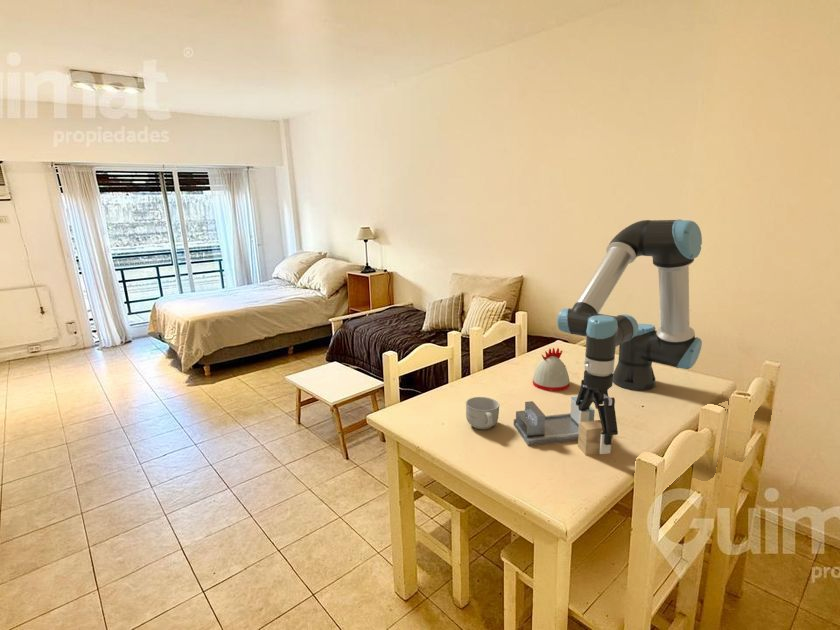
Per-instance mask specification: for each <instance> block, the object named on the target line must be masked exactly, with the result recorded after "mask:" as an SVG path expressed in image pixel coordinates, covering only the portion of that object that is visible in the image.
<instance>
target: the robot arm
mask: <svg viewBox="0 0 840 630" xmlns="http://www.w3.org/2000/svg"><path fill="white" fill-rule="evenodd" d="M702 245H703V237H702V231H701V228H700V226H699V224H697V223H696V222H695V221H693V220H683V219H663V220H662V219H657V220H656V219H654V220H650V219H645V220H639V221H636V222H634V223H631V224H630V225H628V226H626V227H624V228H623V229H622V230H621V231H620V232H618V233H617V234H616V235H615V236H614V237H613V238H612V239H611V241H610V242H609V243H608V245H607V247H606V249H605V250H606V254H605V256H604V257H603V258H602V261H601V262H600V264H599V265H598V267H597V269H596V270H595V271H594V273H593V275H592V276H591V278H590V279H589V281H588V283H587V284H586V286H585V287H584V289H583V290H582V292H581V294H580V295H579V297H578V298H577V300H576V301H575V303H574V305H573V306H572V307H571V308H566V307H565V308H563V309H561V310H560V311H559V313H558V315H557V317H556V325H557V327H558V330H560V332H564V333H567V334H569V335H576V336H580V337H585V339H586V340H585V356H584V358H585V360H584V362H583V364H584V371H583V379H581V382H580V388H579V391H578V395H577V396H578V397H577V396H576V397H577V400H576V405H577V406H579V407H578V408H579V410H580V414H579V422H585V421H589V411H588V409H589V407H591V405H592V404H594V406H595V409H597V412H598V417H599V420H600V421H601V425H602V429H603V432H601V439H600V451H599V454H600V455H606V454H607V455H608V454H611V452H610V448H611V441H612V435H613V436H617V435H618V434H619V431H618V424H617V416H616V408H615V407H616V406H615V403H616V400H615V397H614V396H613V397H612V396H611V397H610V396H609V389H611V388H612V387H613V384H614V385H615V386H617V387H621V388H624V389H627V390H633V391H648V390H652V389H654V388H655V387H656V376H655V373H654V370H653V363H656V364H659V365H664V366H668V367H674V368H676V369H684V370H690V369H691V368H693V366H694V365H695V364H696V363H697V361H698V358H699V356H700V353H701V350H702V345H703V344H702V343H703V342H702V339H701V338H700V337H698V336H697V337H695V336H696V335H695V330H694V329H693V327H691V326H690V276H689V275H690V271H689V270H690V268H689V266H690V265H692V264H693V263H694V262H695V259H696V258H698V257H699V255H700V254H701V251H702ZM640 256H641V257H643V256H644V257H652V264H653V265H654V267H656V268H657V269H658V288H659V291H658V293H659V311H660V313H659V314H660V315H659V316H660V327H658V329H657V330H656V325H653V324H649V323H638V322H637V320H636V318H634V317H633V316H632V315H629V314H618V315H610V314H609V315H608V314H603V313H600V311H601V310H602V308H603V307H604V305H605V303H606V302H607V300H608V298H609V297H610V295H611V293H612V291H614V288H615V287H616V285H617V284H618V282H619V280H620V279H621V277H622V275H623V274H624V272H625V271H626V269H627V267H628V266H629V264H631V263H634V261H636V259H637V257H640ZM618 346H619V347H618ZM616 347H618V361H617V364H616V365H615V361H616V359H615V358H616ZM586 410H587V411H586ZM578 431H579V429H578Z"/></svg>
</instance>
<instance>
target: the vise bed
mask: <svg viewBox="0 0 840 630" xmlns="http://www.w3.org/2000/svg"><path fill="white" fill-rule="evenodd" d="M513 427H515V429H516V430H517V432H518V433H519V435H520V437H521V438H522V439H523V441H524V443H526V445H527V446H529V447H530V446H539V445H548V444H555V443H558V444H559V443H566V442H567V443H568V442H574V441H578V434H579V431H578V429H579V425H578V424H577V423H576V422H575V421H574V420H573V419H572V418H571V412H570V413H561V414H552V415H545V436H540V437H531V438H526V436H525V435H524V434H523V432H522V431H521V429H520V428H519V426H518V425H517V424H516V418H513Z"/></svg>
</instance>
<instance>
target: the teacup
mask: <svg viewBox="0 0 840 630" xmlns="http://www.w3.org/2000/svg"><path fill="white" fill-rule="evenodd" d="M499 411H500V403H499V401H497V399H494V398H491V397H486V396H474V397H471V398H468V399H467V400H466V401H465V417H466V421H467V423H468V424H470V425H471V426H472V427H473V428H474V429H478V430H488V429H489V430H490V429H491V428H492V427H494V426H496V425H497V423H498V420H499V414H500V413H499Z"/></svg>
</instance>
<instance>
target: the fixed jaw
mask: <svg viewBox="0 0 840 630" xmlns="http://www.w3.org/2000/svg"><path fill="white" fill-rule="evenodd" d="M545 416H546V414H544V412H542V410H541V409H540V408H539V407H538V406H537V404H536V403H535V402H534V401H530V400H529V401H525V402H524V410H519V411H518V410H517V411H515V419H516V424H517V425H518V426H519V428H520V429H521V431H522V432H523V434H524V435H525V436H526V438H531V437H540V436H545Z"/></svg>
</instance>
